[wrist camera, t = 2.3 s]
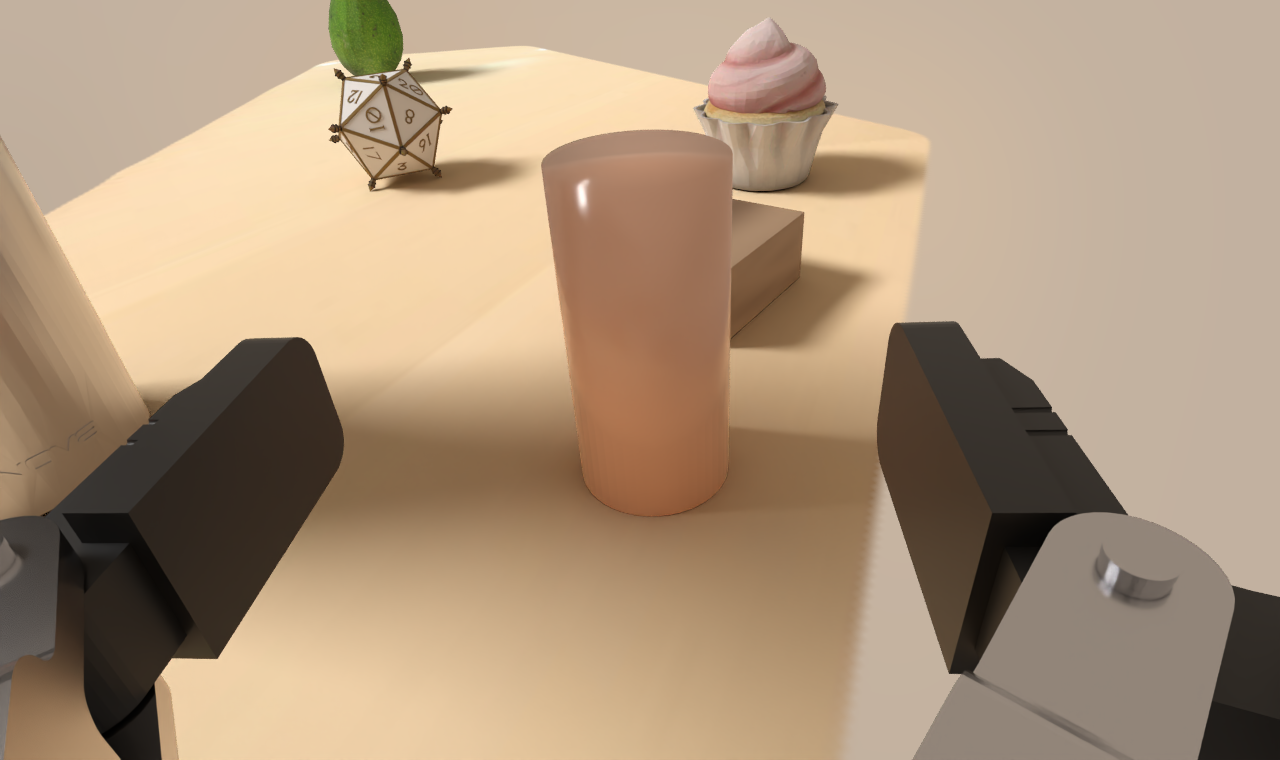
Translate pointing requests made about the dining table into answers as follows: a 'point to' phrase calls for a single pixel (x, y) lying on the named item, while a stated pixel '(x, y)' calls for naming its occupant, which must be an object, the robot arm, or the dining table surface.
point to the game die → (388, 123)
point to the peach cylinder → (646, 311)
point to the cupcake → (767, 109)
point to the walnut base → (762, 257)
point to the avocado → (365, 35)
